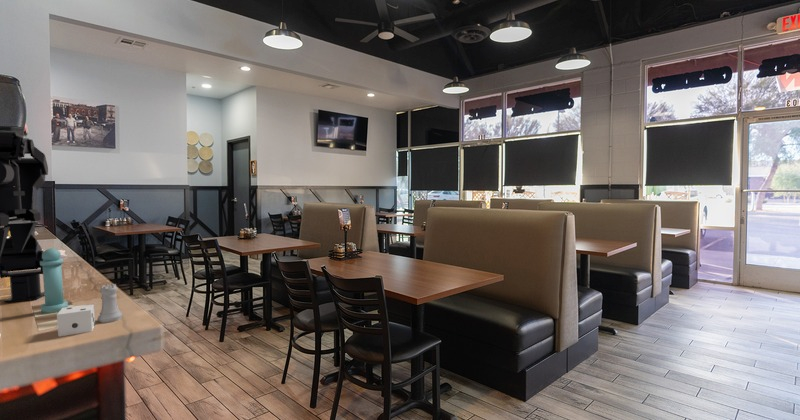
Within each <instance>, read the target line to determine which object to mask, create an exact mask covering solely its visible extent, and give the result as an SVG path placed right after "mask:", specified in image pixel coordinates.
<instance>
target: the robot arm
mask: <svg viewBox="0 0 800 420" xmlns="http://www.w3.org/2000/svg"><path fill="white" fill-rule="evenodd" d="M27 154H28V155H29V156H31V157H32V158H31V157H25V156H26V155H27ZM48 166H49V165H48V162H47V157H46V155H45V153H44V152H42V151H41V150H40V149H39V148H37V147H36V146H35V143H34V141H33V139H30V138H25V137H23V135H21V134H20V133H19V132H17V131H16V130H0V279H4V278H9V285H10V297H9V298H6V299H5V300H3V302H4V303H12V302H23V301H24V302H25V301H35V300H38V299H41V298H42V297H43V296H44V291H42V289H41V275H43V266H40V261H44V260H43V259H42V254H43V252H44V251H45V250H42V248H43V247H41V245H40V243H39V241H38V240H37V239H36V238H35V235H36V234H35V233H36V232H35V229H36V226H37V225H39V222H38V221H41V220H42V219H41V212H40V211H38V210H37V193H38V191H39V189H40V188H41V187H42V186H43V185H44V184H45V182H46V176H47V175H49V167H48ZM8 234H10V236H9V237H8ZM7 237H8V238H7ZM44 297H45V296H44Z"/></svg>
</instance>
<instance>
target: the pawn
mask: <svg viewBox="0 0 800 420" xmlns="http://www.w3.org/2000/svg"><path fill="white" fill-rule="evenodd" d="M43 251H44V252H43V254H42V259H43V260H44V261H40V266H43V274H42V279H43V292H44V303H43V305H41V304H40V305H41V313H43V314H50V313H57V312H59V311H60V310H61V309H62V308H65V307H68V302H67V300H64V288H63V271H62V270H63V269H62V268H63V267H62V264H64V259H63V258H61V257H62V256H61V254H62V253H61V252H60V251H59V250H58V249H57V248H53V247H52V248H47V249H45V250H43Z"/></svg>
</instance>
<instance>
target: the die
mask: <svg viewBox="0 0 800 420" xmlns="http://www.w3.org/2000/svg"><path fill="white" fill-rule="evenodd" d="M95 313H96V312H95V303H91V304H82V305H76V306H75V305H74V306H73V307H65V308H62V309H61V310H60V311H59V313H58V314H57V323H58V327H57V337H59V338H60V337H64V336H65V337H66V336H72V335H78V334H83V333H91V332H93V330H94V327H95V326H96V314H95Z"/></svg>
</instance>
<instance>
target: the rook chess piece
mask: <svg viewBox="0 0 800 420" xmlns="http://www.w3.org/2000/svg"><path fill="white" fill-rule="evenodd" d="M118 290H119V288H118V287H117V283H111V284H110V285H109V283H108V284H103V285H101V286H100V289H99V291H98V292H99V293H100V294H101V297H100V300H101V310H100V312H99V315H98V316H97V321H98V322H99V323H102V324H104V323H105V324H107V323H113V322H116V321H119V320H121V319H122V316H124V315H123V313H122V312H121V310H120V309H119V307H118V302H117V297H118V295H117V291H118Z"/></svg>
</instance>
